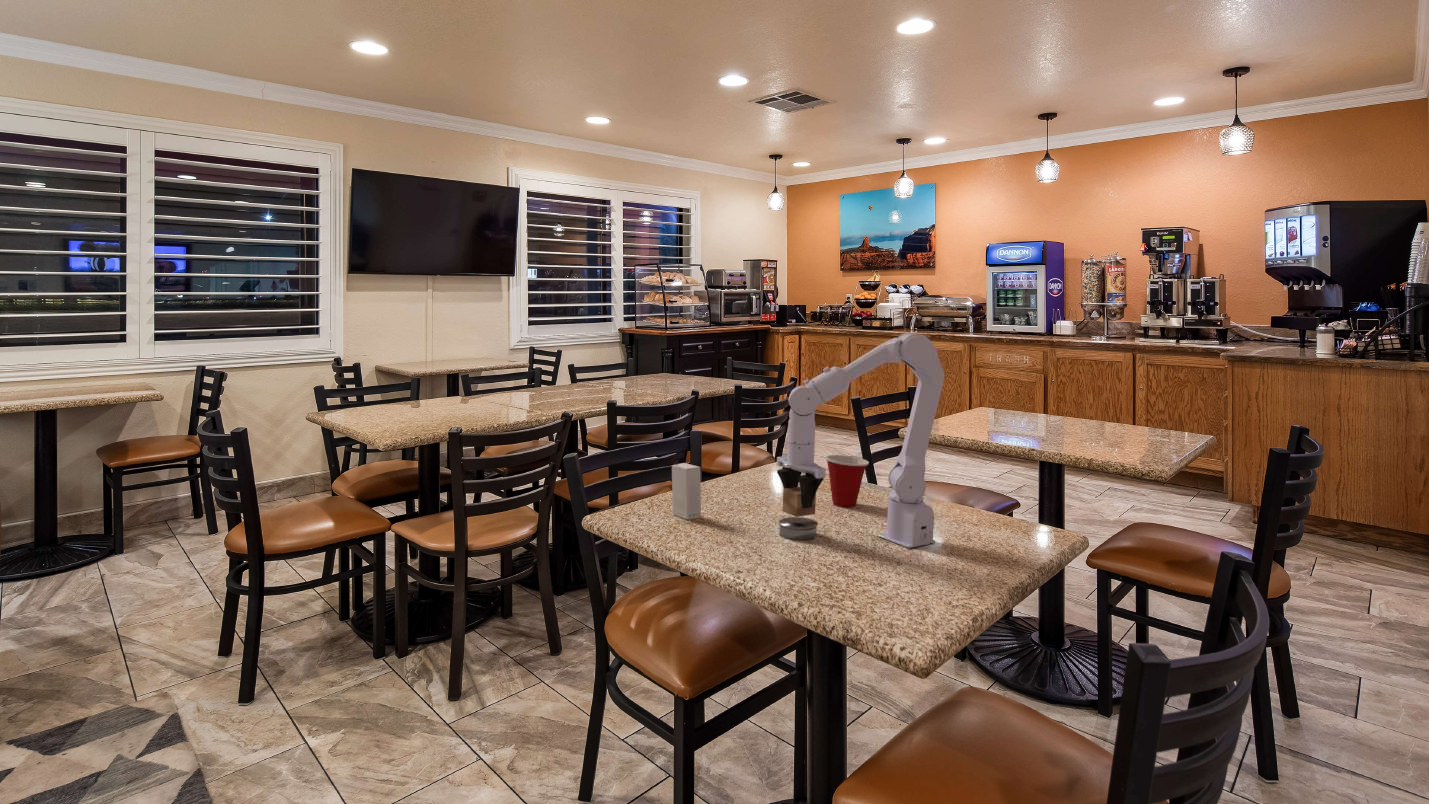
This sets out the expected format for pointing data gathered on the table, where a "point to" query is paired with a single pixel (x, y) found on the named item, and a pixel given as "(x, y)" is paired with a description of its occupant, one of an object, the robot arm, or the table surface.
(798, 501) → the walnut block
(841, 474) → the plastic cup
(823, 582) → the table surface
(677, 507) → the skincare box
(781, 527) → the grey metal cylinder
